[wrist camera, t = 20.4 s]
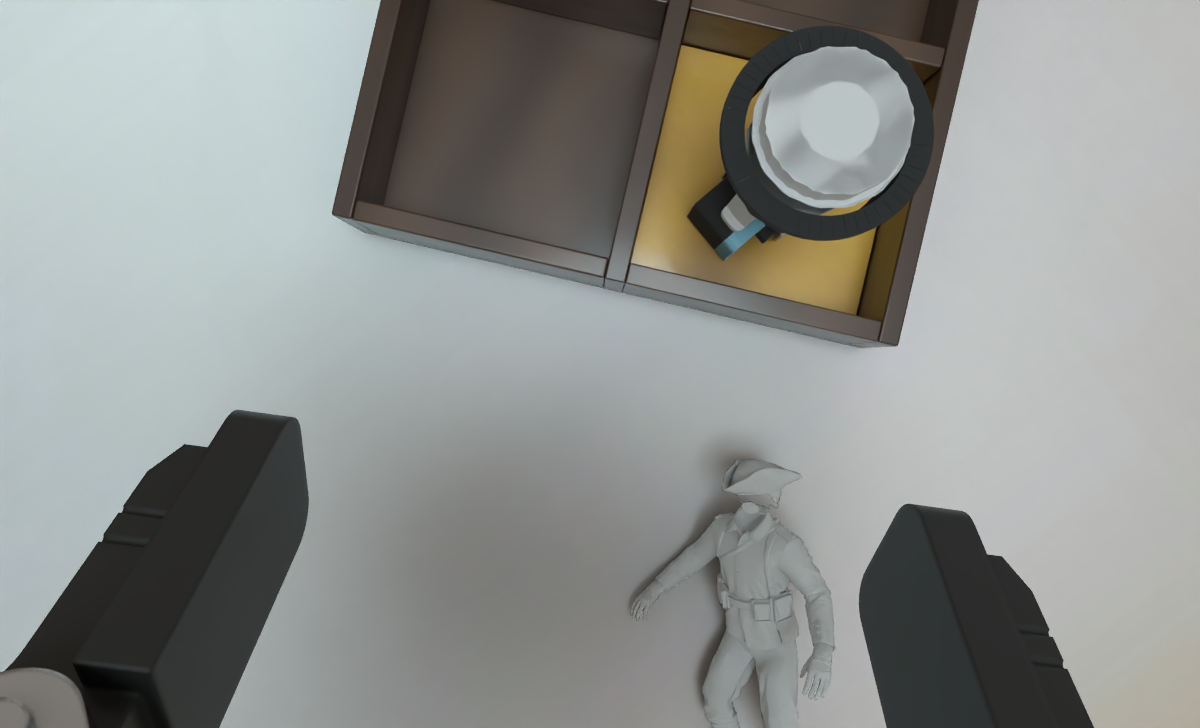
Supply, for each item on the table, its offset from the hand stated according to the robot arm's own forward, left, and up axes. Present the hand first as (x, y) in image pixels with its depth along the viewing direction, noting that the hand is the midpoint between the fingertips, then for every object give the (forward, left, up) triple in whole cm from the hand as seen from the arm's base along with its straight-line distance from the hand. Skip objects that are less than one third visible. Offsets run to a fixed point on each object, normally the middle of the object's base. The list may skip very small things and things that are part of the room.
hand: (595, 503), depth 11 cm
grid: (0, +14, -19) cm, 24 cm away
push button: (+4, +9, -18) cm, 21 cm away
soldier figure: (+7, -6, -19) cm, 21 cm away
